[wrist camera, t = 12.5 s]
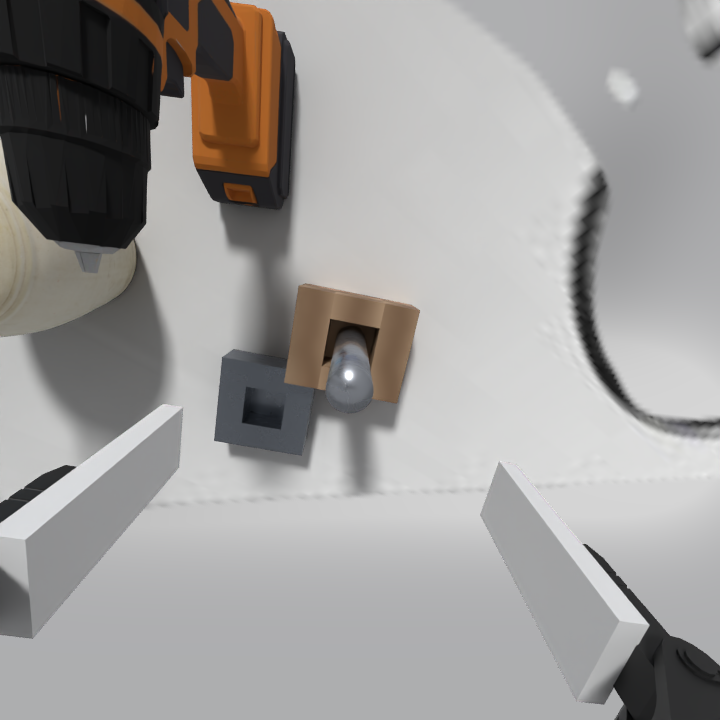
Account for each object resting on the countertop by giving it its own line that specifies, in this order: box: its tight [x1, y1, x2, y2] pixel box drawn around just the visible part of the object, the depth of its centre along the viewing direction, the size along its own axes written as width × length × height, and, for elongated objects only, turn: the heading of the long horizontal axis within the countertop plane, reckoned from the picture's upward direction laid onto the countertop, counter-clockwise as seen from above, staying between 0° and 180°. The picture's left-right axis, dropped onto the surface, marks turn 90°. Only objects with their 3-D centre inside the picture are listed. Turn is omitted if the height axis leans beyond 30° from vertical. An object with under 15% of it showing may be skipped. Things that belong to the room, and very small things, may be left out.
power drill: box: [0, 0, 295, 273], centre depth 22 cm, size 22×7×25 cm, turn 173°
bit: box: [325, 326, 374, 413], centre depth 30 cm, size 3×3×16 cm
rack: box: [284, 284, 420, 403], centre depth 36 cm, size 12×10×5 cm
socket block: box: [214, 349, 315, 455], centre depth 39 cm, size 10×10×4 cm
